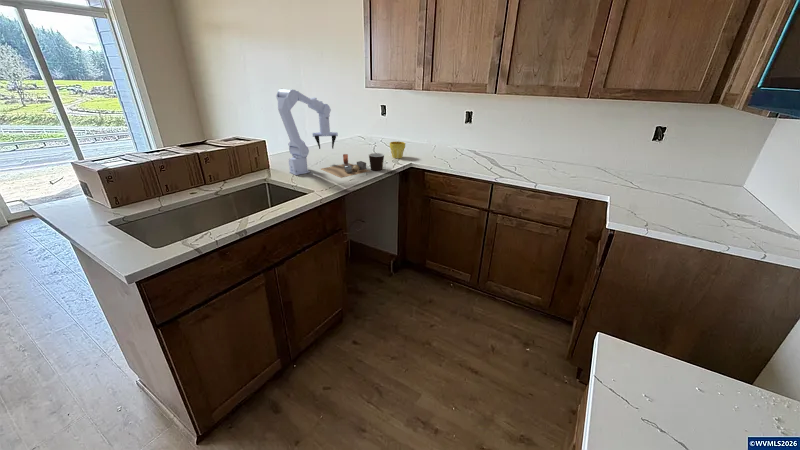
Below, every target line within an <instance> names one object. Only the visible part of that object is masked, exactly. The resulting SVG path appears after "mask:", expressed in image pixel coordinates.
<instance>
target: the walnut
mask: <svg viewBox="0 0 800 450" xmlns="http://www.w3.org/2000/svg"><path fill="white" fill-rule="evenodd" d="M353 165H354V166H353V170H354V171H357V170H359V169H360V168H359V166H358V165H357V164H353Z"/></svg>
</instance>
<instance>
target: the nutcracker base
mask: <svg viewBox="0 0 800 450" xmlns="http://www.w3.org/2000/svg"><path fill="white" fill-rule="evenodd" d="M348 163H349V162H348ZM349 165H351V166H352V173H346V171H345V168H344V163H342V164H337V165H332V166H327V167H322V168H320V170H322V171H324V172H326V173H329V174H331V175H333V176H336V177H339V178H341V179H342V178H343V179H344V178H346V177H351V176H355V175H360V174H365V173H369V172H371V170H369V169H367V163H366V162H365V161H362V160H359V161H356V165H358V166H359V168H360V169H359V170H357V171H354V170H353V166H354V165H355V164H353V163H349Z"/></svg>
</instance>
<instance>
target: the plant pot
mask: <svg viewBox="0 0 800 450" xmlns="http://www.w3.org/2000/svg"><path fill="white" fill-rule="evenodd" d="M389 148H390V152H391V157H392V158H393V159H402V158H403V155H404V151H405V148H406V142H403V141H390V142H389Z"/></svg>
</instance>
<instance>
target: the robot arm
mask: <svg viewBox="0 0 800 450" xmlns="http://www.w3.org/2000/svg"><path fill="white" fill-rule="evenodd" d="M275 97H276V100H277V109H278V113H279V116H280V119H281V120H282V122H283V126H284V128H285V131H286V134H287V135H288V136H287V137H288V138H289V139H288V140H289V142H288V150H289V153H290V154H291V157H290V158H289V159H288V167H289V173H290V174H291V175H292V174H293V176H294V175H295V176H298V175H303V174H309V173H312V172H311V170H309V167H308V159H307V157H308V155H309V153H310V149H309V146H307V145H306V143H305V142H304V140H302V138H301V137H300V133H299V132H298V129H297V126H296V123H295V119H294V117H293V114H292V112H291V110H292V109H293V107H294V106H296V104H297V102H301V103H303V104H306V105H307V106H308V108H309V109H311V110H313V111H315V112H316V113H317V114H318V123H319V132H312V133H311V134H312V137H314V139H315V141H316V144H317V146H318V148H319V149H318V150H321V144H320V137H331V149H332V150H334V145H335V142H336V139H337V137H338V135H339V134H338V132H336V131H334V132H333V131H332V132H331V127H330V114H331V111H332V109H331V107H330V105H329V104H328V103H323V101H321V100H318V99H317V97H308V96H306V95H304V93H301V92H300V91H299V90H296V89H292V88H291V89H286V88H280V89H278V91H277V93H276V95H275Z"/></svg>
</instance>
